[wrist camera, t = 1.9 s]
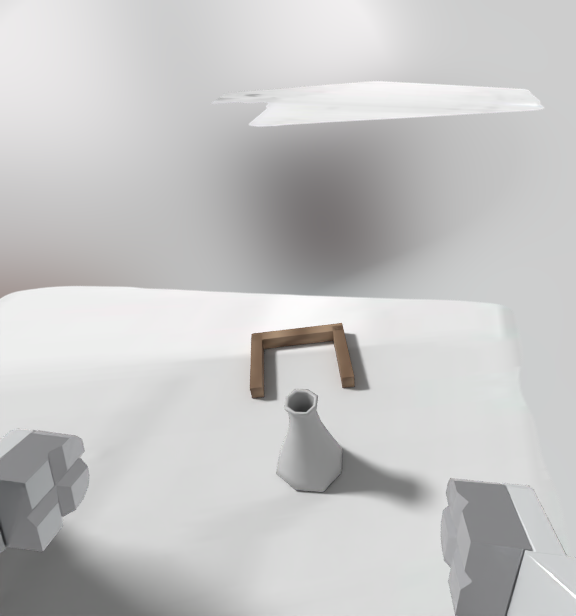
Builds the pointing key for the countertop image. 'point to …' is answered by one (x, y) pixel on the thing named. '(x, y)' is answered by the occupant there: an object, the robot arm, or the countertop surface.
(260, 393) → the dock
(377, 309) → the countertop surface
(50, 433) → the robot arm
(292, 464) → the flask
